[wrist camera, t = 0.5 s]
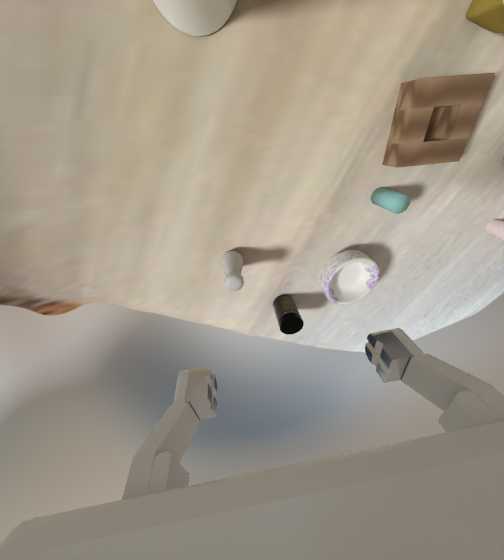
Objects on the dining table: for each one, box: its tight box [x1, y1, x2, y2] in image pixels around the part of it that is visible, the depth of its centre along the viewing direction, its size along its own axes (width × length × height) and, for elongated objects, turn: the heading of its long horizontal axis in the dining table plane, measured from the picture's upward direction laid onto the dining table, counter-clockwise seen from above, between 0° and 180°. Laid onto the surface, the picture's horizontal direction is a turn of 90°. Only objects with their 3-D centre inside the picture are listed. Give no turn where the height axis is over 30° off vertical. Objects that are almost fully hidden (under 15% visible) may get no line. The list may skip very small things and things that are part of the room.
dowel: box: [371, 187, 410, 214], centre depth 51 cm, size 4×4×8 cm
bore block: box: [383, 73, 494, 167], centre depth 45 cm, size 14×14×5 cm
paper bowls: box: [319, 250, 379, 305], centre depth 62 cm, size 15×15×8 cm
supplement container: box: [273, 295, 303, 334], centre depth 66 cm, size 7×7×10 cm
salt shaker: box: [221, 251, 244, 291], centre depth 54 cm, size 6×6×13 cm
